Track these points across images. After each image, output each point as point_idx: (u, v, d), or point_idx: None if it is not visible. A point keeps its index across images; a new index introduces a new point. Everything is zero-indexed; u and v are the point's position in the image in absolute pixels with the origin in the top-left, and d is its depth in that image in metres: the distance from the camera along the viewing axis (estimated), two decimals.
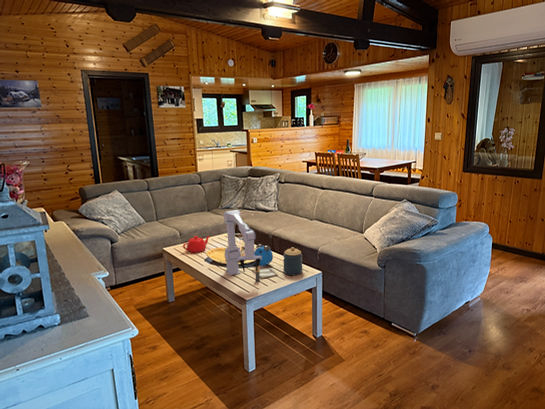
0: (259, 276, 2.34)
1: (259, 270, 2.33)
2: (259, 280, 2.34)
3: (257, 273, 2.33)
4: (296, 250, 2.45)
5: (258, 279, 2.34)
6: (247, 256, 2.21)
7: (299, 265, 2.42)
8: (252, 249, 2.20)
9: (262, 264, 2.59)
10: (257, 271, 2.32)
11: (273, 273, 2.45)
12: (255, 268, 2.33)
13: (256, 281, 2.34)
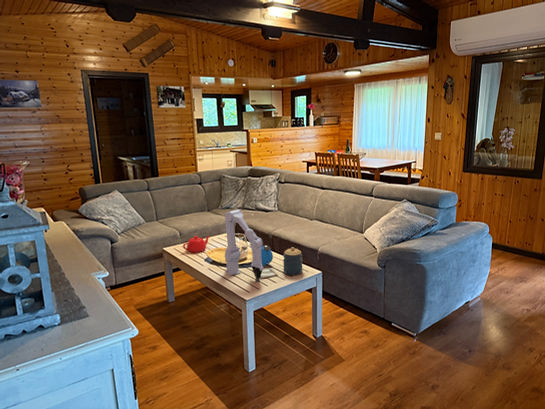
0: None
1: None
2: (259, 280, 2.34)
3: None
4: (296, 250, 2.45)
5: (258, 279, 2.34)
6: None
7: (299, 265, 2.42)
8: (260, 256, 2.30)
9: (262, 264, 2.59)
10: None
11: (273, 273, 2.45)
12: None
13: (256, 281, 2.34)
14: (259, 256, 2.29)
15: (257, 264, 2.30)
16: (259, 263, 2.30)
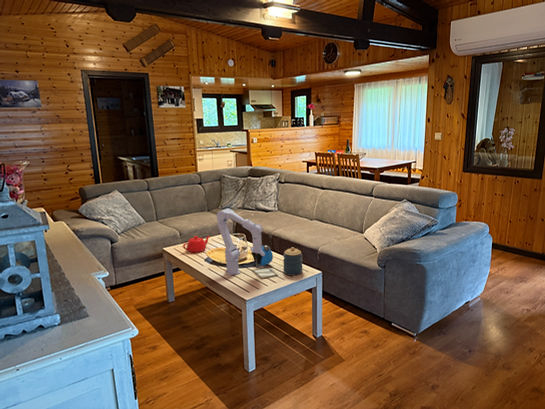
0: None
1: None
2: (259, 266, 2.40)
3: None
4: (296, 250, 2.45)
5: (258, 265, 2.39)
6: (253, 248, 2.37)
7: (299, 265, 2.42)
8: (261, 242, 2.36)
9: (262, 264, 2.59)
10: None
11: (273, 273, 2.45)
12: None
13: None
14: (260, 242, 2.35)
15: (258, 250, 2.35)
16: (260, 249, 2.36)
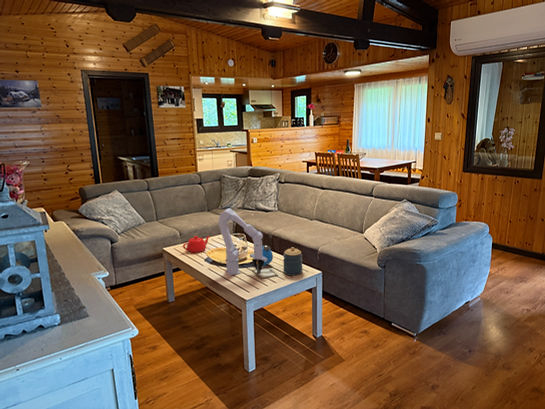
0: None
1: None
2: (260, 272, 2.46)
3: None
4: (296, 250, 2.45)
5: (260, 271, 2.45)
6: (254, 255, 2.42)
7: (299, 265, 2.42)
8: None
9: None
10: None
11: (273, 273, 2.45)
12: (257, 260, 2.43)
13: None
14: (261, 248, 2.41)
15: (260, 256, 2.41)
16: (261, 255, 2.42)
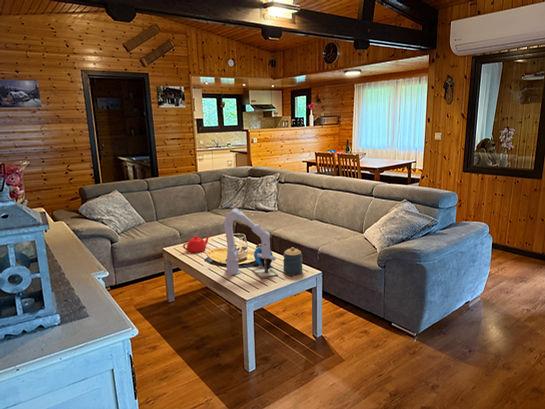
0: None
1: None
2: None
3: None
4: (296, 250, 2.45)
5: (267, 270, 2.46)
6: (262, 254, 2.43)
7: (299, 265, 2.42)
8: (269, 247, 2.44)
9: None
10: None
11: (273, 273, 2.45)
12: None
13: (266, 272, 2.46)
14: (269, 247, 2.43)
15: (268, 255, 2.42)
16: (269, 254, 2.43)
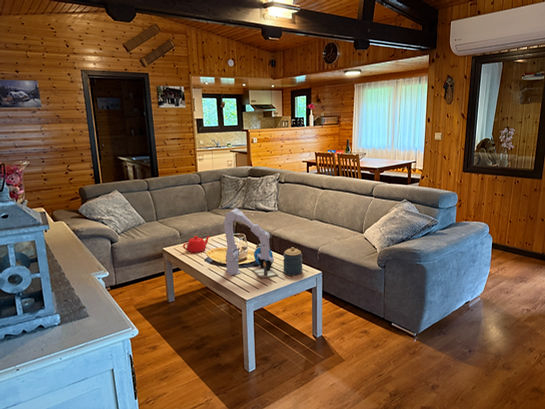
0: None
1: None
2: (267, 274, 2.42)
3: (266, 267, 2.40)
4: (296, 250, 2.45)
5: (267, 273, 2.41)
6: (261, 255, 2.39)
7: (299, 265, 2.42)
8: None
9: None
10: None
11: (273, 273, 2.45)
12: (264, 262, 2.40)
13: (265, 275, 2.41)
14: (268, 248, 2.38)
15: (266, 256, 2.37)
16: (268, 255, 2.38)
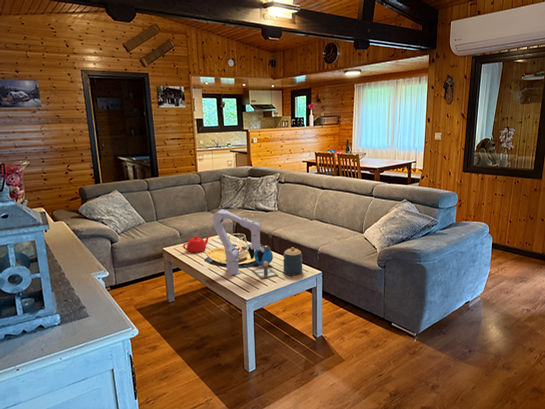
0: (267, 270, 2.42)
1: (267, 264, 2.41)
2: (267, 274, 2.42)
3: (266, 267, 2.40)
4: (296, 250, 2.45)
5: (267, 273, 2.41)
6: (251, 245, 2.41)
7: (299, 265, 2.42)
8: (259, 238, 2.40)
9: (262, 264, 2.59)
10: (266, 265, 2.40)
11: (273, 273, 2.45)
12: (264, 262, 2.40)
13: (265, 275, 2.41)
14: (259, 238, 2.39)
15: (257, 247, 2.39)
16: (259, 245, 2.40)
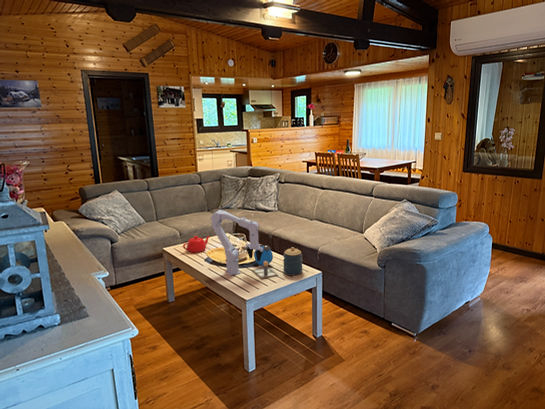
0: (267, 270, 2.42)
1: (267, 264, 2.41)
2: (267, 274, 2.42)
3: (266, 267, 2.40)
4: (296, 250, 2.45)
5: (267, 273, 2.41)
6: (250, 245, 2.41)
7: (299, 265, 2.42)
8: None
9: (262, 264, 2.59)
10: (266, 265, 2.40)
11: (273, 273, 2.45)
12: (264, 262, 2.40)
13: None
14: (257, 238, 2.40)
15: (256, 246, 2.39)
16: (257, 245, 2.40)
